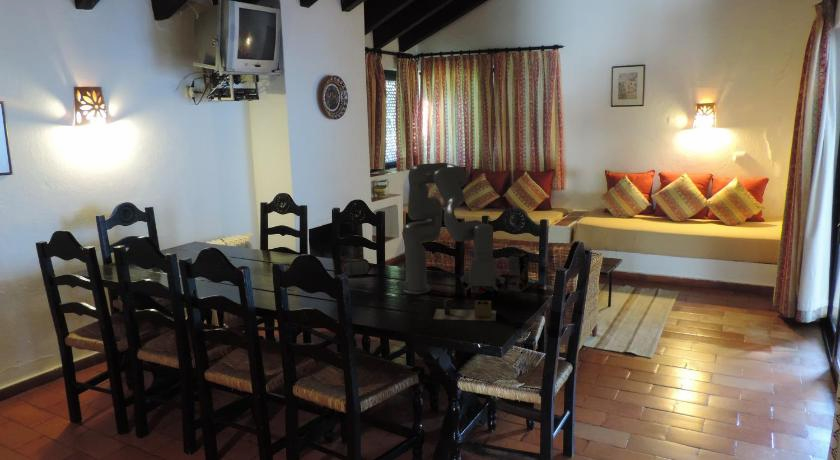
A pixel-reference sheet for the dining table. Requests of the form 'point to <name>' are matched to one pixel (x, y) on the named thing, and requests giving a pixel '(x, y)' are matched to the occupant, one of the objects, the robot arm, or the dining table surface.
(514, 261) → the coffee box
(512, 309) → the dining table surface
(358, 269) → the tin
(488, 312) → the collar
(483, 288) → the soda can
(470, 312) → the board
